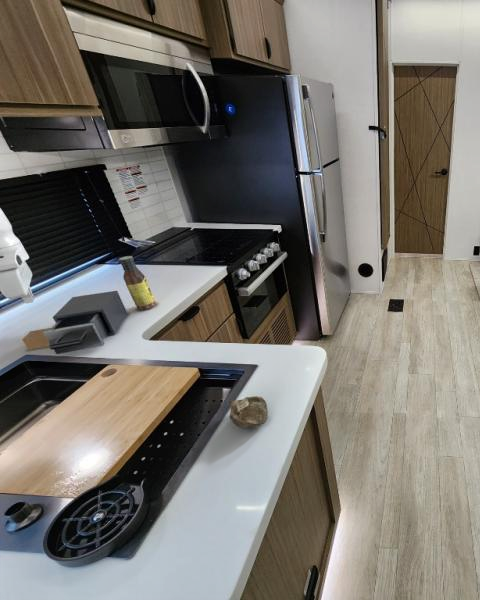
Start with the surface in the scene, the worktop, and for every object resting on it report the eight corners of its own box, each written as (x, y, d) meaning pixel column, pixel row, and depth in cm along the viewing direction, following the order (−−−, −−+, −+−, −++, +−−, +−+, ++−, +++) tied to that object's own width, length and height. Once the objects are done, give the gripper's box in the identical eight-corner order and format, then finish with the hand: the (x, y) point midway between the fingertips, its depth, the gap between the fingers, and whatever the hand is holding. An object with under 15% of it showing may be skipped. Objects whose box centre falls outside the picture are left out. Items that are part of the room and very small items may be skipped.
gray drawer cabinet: (115, 334, 110) (102, 309, 105) (67, 342, 106) (52, 317, 101) (127, 313, 122) (117, 290, 117) (85, 320, 117) (72, 297, 113)
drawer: (97, 354, 98) (85, 332, 95) (48, 364, 95) (34, 341, 91) (116, 324, 113) (107, 304, 110) (75, 331, 110) (63, 311, 106)
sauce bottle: (160, 305, 127) (140, 256, 118) (142, 312, 123) (120, 262, 113) (151, 301, 130) (131, 253, 121) (133, 308, 126) (111, 258, 116)
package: (28, 350, 102) (21, 339, 100) (36, 341, 106) (30, 331, 104) (59, 344, 105) (53, 334, 103) (66, 336, 109) (60, 326, 107)
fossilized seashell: (223, 404, 78) (228, 439, 71) (234, 383, 76) (240, 418, 69) (255, 404, 83) (262, 437, 76) (266, 385, 81) (274, 417, 74)
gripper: (-8, 249, 94) (19, 292, 101) (-22, 269, 80) (10, 318, 87) (23, 244, 98) (47, 286, 104) (15, 263, 84) (43, 310, 91)
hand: (30, 301), depth 95 cm, fingers closed
